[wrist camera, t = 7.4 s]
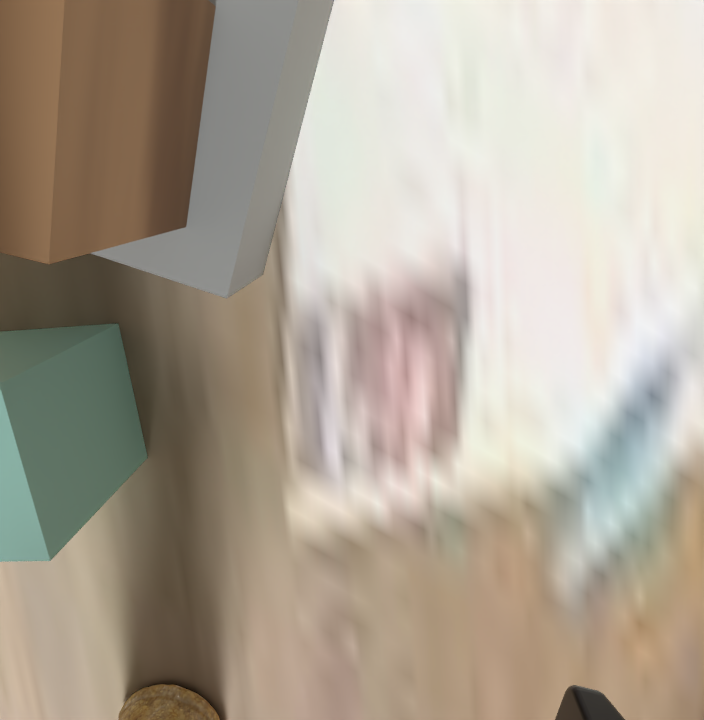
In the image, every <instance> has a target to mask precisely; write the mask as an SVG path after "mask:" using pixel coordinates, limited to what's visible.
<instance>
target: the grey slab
mask: <svg viewBox="0 0 704 720" xmlns="http://www.w3.org/2000/svg"><path fill="white" fill-rule="evenodd" d="M209 1H210V2H211V3H212V4H214V5H215V6H216V9H215V16H214V24H213V31H212V39H211V46H210V54H209V61H208V68H207V76H206V83H205V91H204V98H203V106H202V113H201V121H200V128H199V136H198V143H197V151H196V158H195V166H194V173H193V181H192V188H191V196H190V203H189V210H188V218H187V225H186V227H185V228H181V229H177V230H174V231H170V232H166V233H163V234H159V235H155V236H152V237H148V238H144V239H140V240H137V241H133V242H129V243H126V244H122V245H118V246H115V247H111V248H107V249H104V250H100V251H96V252H93V253H91V254H94V255H97V256H100V257H103V258H106V259H109V260H112V261H115V262H118V263H121V264H124V265H127V266H130V267H133V268H136V269H139V270H142V271H145V272H148V273H151V274H154V275H157V276H160V277H163V278H166V279H169V280H172V281H175V282H178V283H181V284H184V285H187V286H191V287H194V288H197V289H200V290H203V291H206V292H209V293H212V294H215V295H218V296H221V297H224V298H228V297H230V296H231V295H233V294H234V293H236V292H237V291H239V290H240V289H242V288H243V287H245V286H246V285H248V284H249V283H251V282H252V281H254V280H256V279H257V278H259V277H260V276H262V275H263V272H264V269H265V265H266V261H267V257H268V253H269V249H270V245H271V241H272V238H273V234H274V230H275V226H276V222H277V218H278V214H279V211H280V207H281V203H282V199H283V195H284V191H285V187H286V184H287V180H288V176H289V172H290V168H291V164H292V160H293V157H294V153H295V149H296V145H297V141H298V137H299V133H300V129H301V126H302V122H303V118H304V114H305V110H306V106H307V102H308V99H309V95H310V91H311V87H312V83H313V79H314V75H315V72H316V68H317V64H318V60H319V56H320V52H321V48H322V45H323V41H324V37H325V33H326V29H327V25H328V21H329V17H330V14H331V10H332V6H333V2H334V0H209Z"/></svg>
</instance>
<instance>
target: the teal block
mask: <svg viewBox="0 0 704 720" xmlns="http://www.w3.org/2000/svg"><path fill="white" fill-rule="evenodd" d="M147 458H148V457H147V452H146V447H145V443H144V438H143V434H142V429H141V425H140V420H139V415H138V411H137V406H136V402H135V397H134V393H133V388H132V383H131V379H130V374H129V370H128V365H127V361H126V356H125V351H124V347H123V342H122V338H121V333H120V329H119V324H118V323H115V324H101V325H87V326H73V327H58V328H44V329H30V330H16V331H2V332H0V562H2V561H51V560H52V558H53V557H54V556H55V555H56V554H57V553H58V552H59V551H60V550H61V549H62V548H63V547H64V546H65V545H66V544H67V543H68V542H69V540H70V539H71V538H72V537H73V536H74V535H75V534H76V533H77V532H78V531H79V530H80V529H81V528H82V527H83V526H84V525H85V524H86V522H87V521H88V520H89V519H90V518H91V517H92V516H93V515H94V514H95V513H96V512H97V511H98V510H99V509H100V508H101V507H102V506H103V504H104V503H105V502H106V501H107V500H108V499H109V498H110V497H111V496H112V495H113V494H114V493H115V492H116V491H117V490H118V489H119V488H120V487H121V485H122V484H123V483H124V482H125V481H126V480H127V479H128V478H129V477H130V476H131V475H132V474H133V473H134V472H135V471H136V470H137V469H138V467H139V466H140V465H141V464H142V463H143V462H144V461H145V460H146V459H147Z"/></svg>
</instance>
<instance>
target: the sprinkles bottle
mask: <svg viewBox="0 0 704 720" xmlns="http://www.w3.org/2000/svg"><path fill="white" fill-rule="evenodd" d="M119 720H220V719H219V716H218V714H217V713H216V711H215V710H214V709H213V707H212V706H211V705H210V704H209V703H208V702H207V701H206V700H205V699H204V698H202V697H201V696H200V695H199V694H197V693H195V692H193V691H190V690H188V689H185V688H182V687H180V686H177V685H165V684H159V685H154V686H150V687H145V688H142V689H141V690H139V691H137V692H135V693H134V694H132V695H131V696H130V698H129V699H128V700H127V701H126V702H125V704H124V705H123V707H122V709H121V711H120V713H119Z"/></svg>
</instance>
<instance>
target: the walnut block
mask: <svg viewBox="0 0 704 720" xmlns="http://www.w3.org/2000/svg"><path fill="white" fill-rule="evenodd" d="M215 9H216V6H215V5H214V4H212V3H211V2H210V1H209V0H0V252H1V253H5V254H9V255H13V256H17V257H21V258H25V259H29V260H33V261H37V262H41V263H45V264H52V263H56V262H59V261H63V260H67V259H70V258H74V257H78V256H82V255H85V254H89V253H93V252H96V251H100V250H104V249H107V248H111V247H115V246H118V245H122V244H126V243H129V242H133V241H137V240H140V239H144V238H148V237H152V236H155V235H159V234H163V233H166V232H170V231H174V230H177V229H181V228H185V227H186V225H187V218H188V210H189V203H190V196H191V188H192V181H193V173H194V166H195V158H196V151H197V143H198V136H199V128H200V121H201V113H202V106H203V98H204V91H205V83H206V76H207V68H208V61H209V54H210V46H211V39H212V31H213V24H214V16H215Z"/></svg>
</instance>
